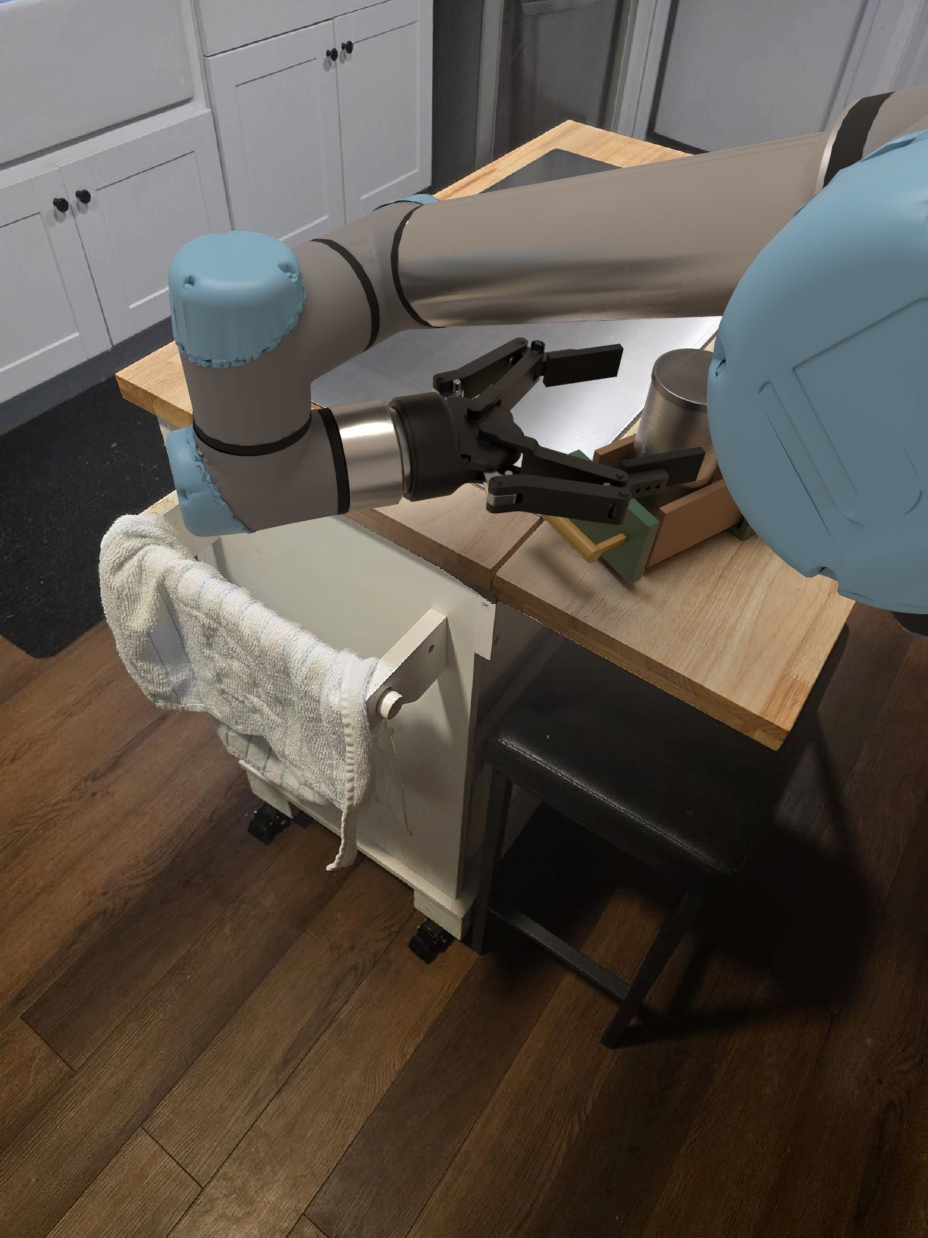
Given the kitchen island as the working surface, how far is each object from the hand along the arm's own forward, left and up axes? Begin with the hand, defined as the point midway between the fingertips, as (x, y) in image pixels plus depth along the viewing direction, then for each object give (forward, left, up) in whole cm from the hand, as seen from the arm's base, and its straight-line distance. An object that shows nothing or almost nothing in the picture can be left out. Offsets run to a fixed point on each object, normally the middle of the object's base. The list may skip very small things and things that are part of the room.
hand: (656, 408), depth 68 cm
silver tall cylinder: (-1, -3, -11) cm, 12 cm away
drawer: (-1, -1, -12) cm, 13 cm away
